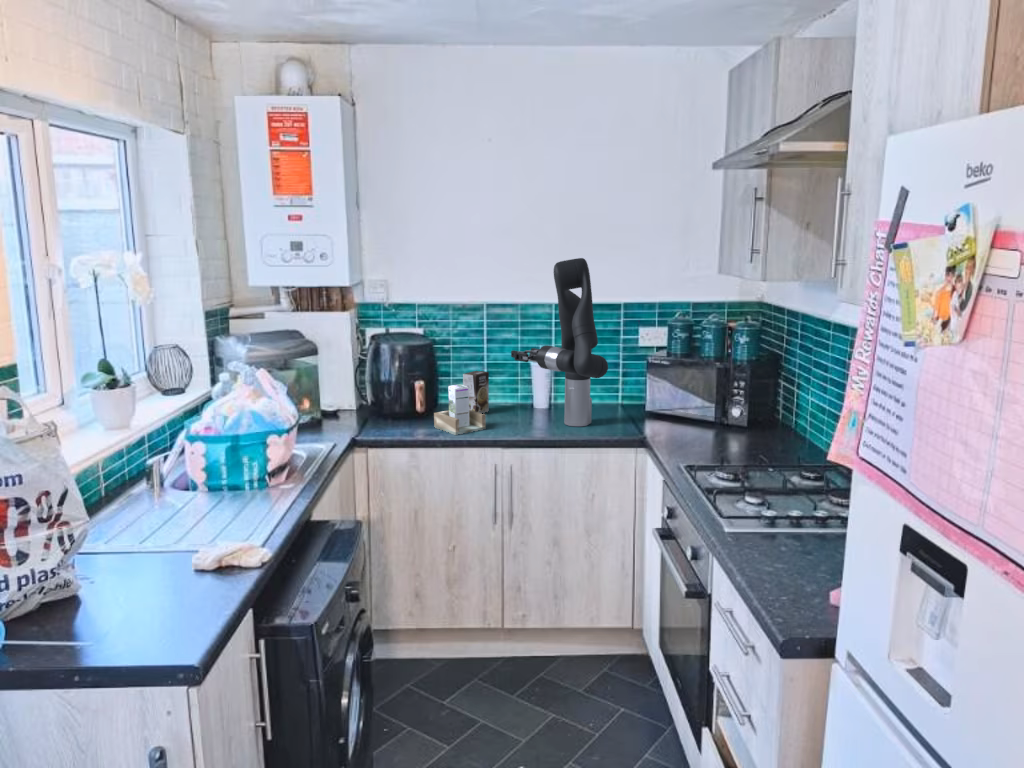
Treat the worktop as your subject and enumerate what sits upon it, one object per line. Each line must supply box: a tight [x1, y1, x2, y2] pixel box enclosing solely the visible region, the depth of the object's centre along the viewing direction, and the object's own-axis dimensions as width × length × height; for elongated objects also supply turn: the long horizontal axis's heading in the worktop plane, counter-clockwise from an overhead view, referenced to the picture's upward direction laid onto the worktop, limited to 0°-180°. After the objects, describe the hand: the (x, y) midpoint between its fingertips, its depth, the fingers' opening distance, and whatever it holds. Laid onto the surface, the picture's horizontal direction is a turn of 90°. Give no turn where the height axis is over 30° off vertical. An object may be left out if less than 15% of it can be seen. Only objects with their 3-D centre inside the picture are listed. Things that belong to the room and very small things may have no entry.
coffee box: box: [462, 370, 490, 414], centre depth 297 cm, size 9×6×16 cm
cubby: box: [433, 409, 487, 436], centre depth 275 cm, size 13×14×6 cm
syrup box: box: [448, 384, 469, 427], centre depth 274 cm, size 6×6×14 cm
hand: (521, 352), depth 255 cm, fingers open, 8 cm apart
